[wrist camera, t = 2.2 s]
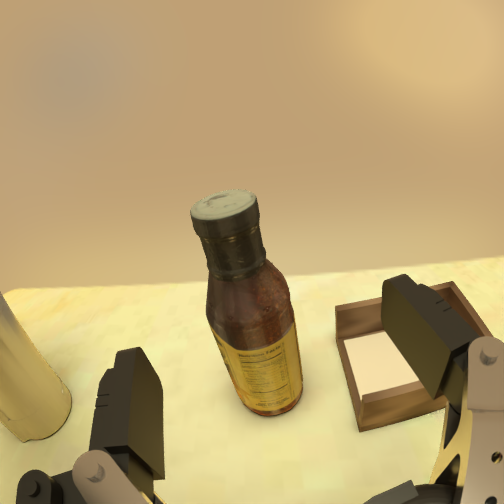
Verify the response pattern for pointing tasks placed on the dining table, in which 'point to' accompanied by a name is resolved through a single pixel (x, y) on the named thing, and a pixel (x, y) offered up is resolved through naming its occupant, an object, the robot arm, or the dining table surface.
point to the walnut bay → (388, 362)
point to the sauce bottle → (248, 304)
